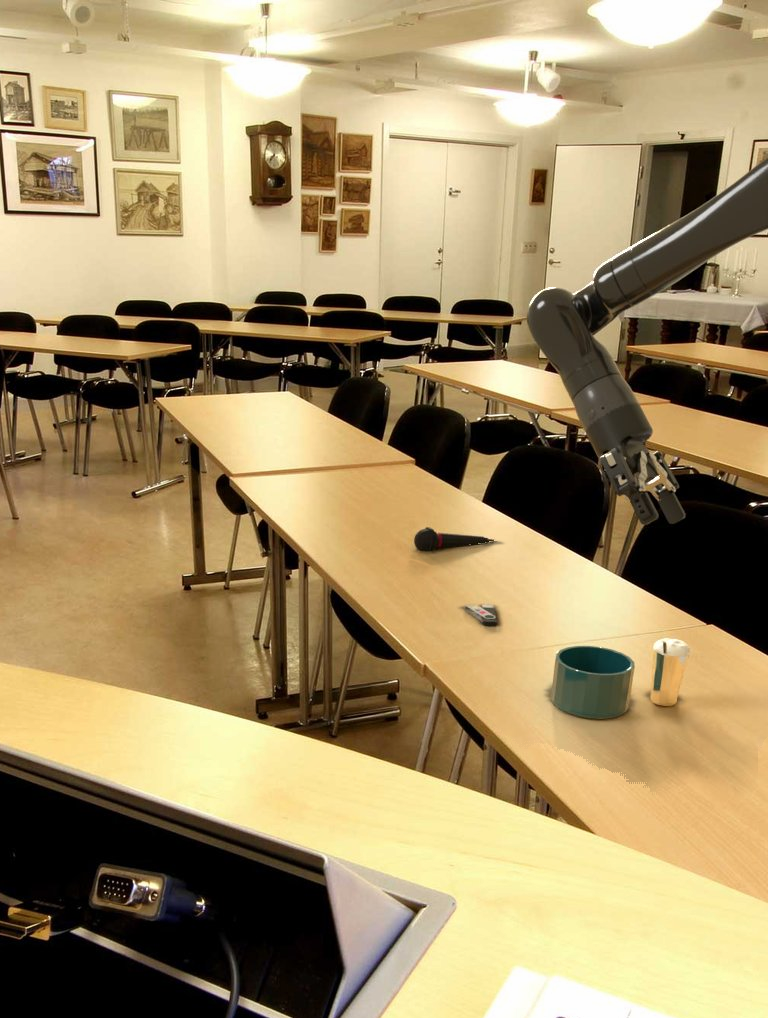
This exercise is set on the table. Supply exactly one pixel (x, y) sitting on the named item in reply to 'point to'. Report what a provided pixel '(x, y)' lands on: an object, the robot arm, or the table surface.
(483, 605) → the usb flash drive
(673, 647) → the milkshake
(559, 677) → the bowl
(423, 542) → the microphone
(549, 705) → the table surface
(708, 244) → the robot arm
